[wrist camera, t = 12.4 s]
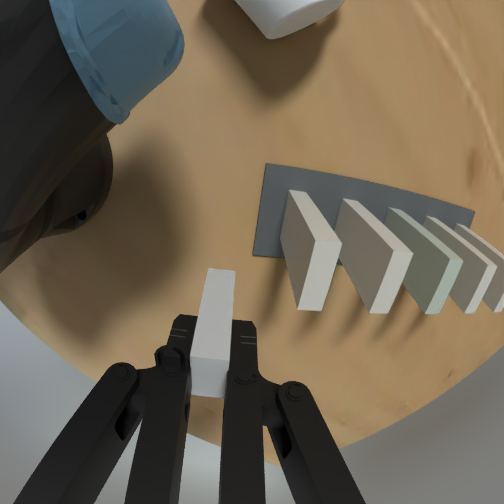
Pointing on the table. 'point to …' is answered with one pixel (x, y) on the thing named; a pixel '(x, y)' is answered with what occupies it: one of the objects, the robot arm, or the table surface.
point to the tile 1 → (308, 250)
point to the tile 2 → (371, 256)
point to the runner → (329, 201)
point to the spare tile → (424, 262)
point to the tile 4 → (464, 267)
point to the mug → (286, 14)
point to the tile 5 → (500, 288)
